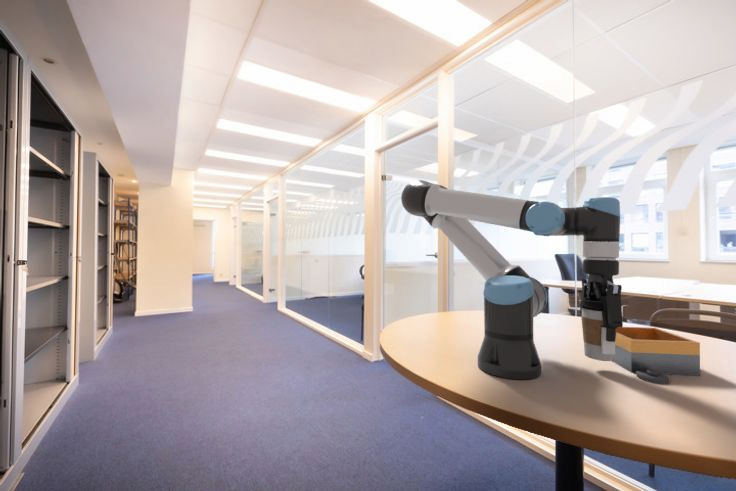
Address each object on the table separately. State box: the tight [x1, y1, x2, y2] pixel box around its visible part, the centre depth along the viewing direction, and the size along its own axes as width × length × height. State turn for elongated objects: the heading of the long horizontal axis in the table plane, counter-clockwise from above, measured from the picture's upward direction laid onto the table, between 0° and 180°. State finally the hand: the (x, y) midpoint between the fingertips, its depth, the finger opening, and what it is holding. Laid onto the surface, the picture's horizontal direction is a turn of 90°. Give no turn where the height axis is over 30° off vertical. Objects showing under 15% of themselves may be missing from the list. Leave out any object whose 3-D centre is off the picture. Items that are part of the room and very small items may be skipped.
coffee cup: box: [579, 298, 617, 362], centre depth 84 cm, size 8×8×15 cm
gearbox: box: [611, 326, 701, 377], centre depth 88 cm, size 15×15×8 cm
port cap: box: [635, 369, 671, 385], centre depth 78 cm, size 6×6×2 cm
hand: (598, 348), depth 84 cm, fingers closed on coffee cup, 8 cm apart
